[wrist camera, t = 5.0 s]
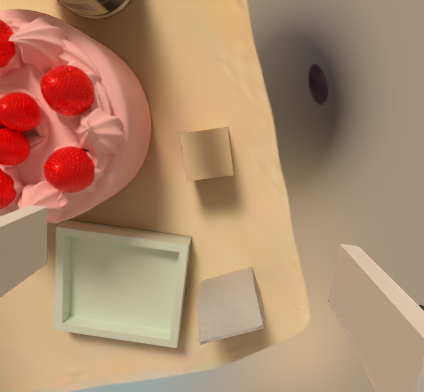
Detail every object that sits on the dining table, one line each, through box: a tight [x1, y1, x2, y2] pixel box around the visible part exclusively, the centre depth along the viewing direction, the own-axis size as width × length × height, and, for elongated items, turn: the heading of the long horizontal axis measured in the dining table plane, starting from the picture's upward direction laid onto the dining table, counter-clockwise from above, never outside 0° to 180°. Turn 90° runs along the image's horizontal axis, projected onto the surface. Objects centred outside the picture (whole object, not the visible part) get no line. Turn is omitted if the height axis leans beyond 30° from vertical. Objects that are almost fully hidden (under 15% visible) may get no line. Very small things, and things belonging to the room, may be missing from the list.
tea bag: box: [197, 267, 265, 345], centre depth 38 cm, size 4×7×10 cm, turn 109°
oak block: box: [180, 127, 234, 181], centre depth 36 cm, size 5×5×5 cm
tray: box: [54, 220, 192, 348], centre depth 42 cm, size 16×14×3 cm
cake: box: [0, 9, 151, 224], centre depth 32 cm, size 20×20×14 cm
